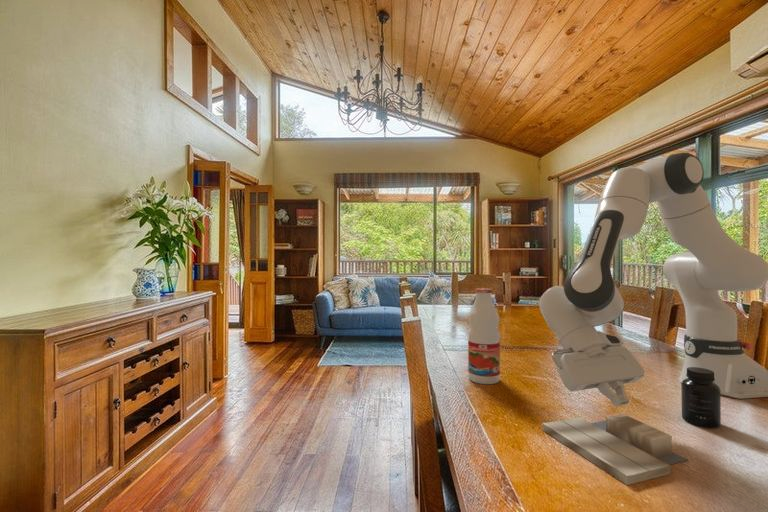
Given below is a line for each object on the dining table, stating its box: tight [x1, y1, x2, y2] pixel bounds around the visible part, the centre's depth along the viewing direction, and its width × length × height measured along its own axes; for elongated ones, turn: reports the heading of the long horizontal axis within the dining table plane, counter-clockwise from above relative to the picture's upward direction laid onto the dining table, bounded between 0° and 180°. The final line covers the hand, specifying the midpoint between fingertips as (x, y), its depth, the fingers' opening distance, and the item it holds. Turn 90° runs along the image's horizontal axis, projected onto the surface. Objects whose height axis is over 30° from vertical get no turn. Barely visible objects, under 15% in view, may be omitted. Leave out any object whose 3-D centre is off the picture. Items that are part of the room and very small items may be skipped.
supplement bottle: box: [680, 367, 722, 429], centre depth 84 cm, size 7×7×12 cm
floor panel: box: [542, 416, 671, 486], centre depth 73 cm, size 20×10×2 cm, turn 17°
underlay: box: [590, 419, 689, 466], centre depth 76 cm, size 17×7×1 cm, turn 17°
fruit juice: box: [467, 287, 501, 385], centre depth 113 cm, size 9×9×28 cm
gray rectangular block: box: [605, 413, 673, 458], centre depth 74 cm, size 4×5×10 cm
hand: (622, 404), depth 77 cm, fingers closed
